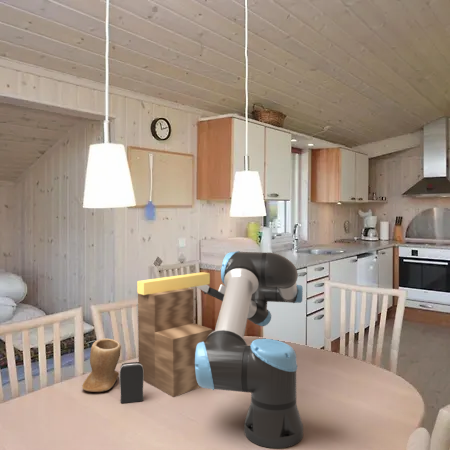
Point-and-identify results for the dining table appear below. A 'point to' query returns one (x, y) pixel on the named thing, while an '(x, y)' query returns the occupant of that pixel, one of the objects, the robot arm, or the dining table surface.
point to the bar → (172, 283)
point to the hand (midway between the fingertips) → (207, 285)
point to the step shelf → (169, 340)
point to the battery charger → (131, 382)
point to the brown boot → (103, 365)
